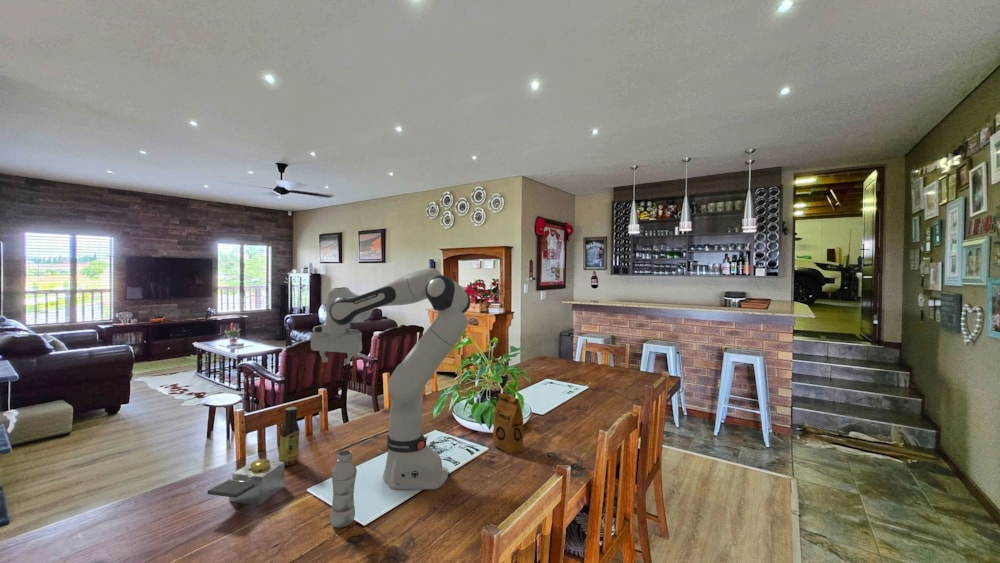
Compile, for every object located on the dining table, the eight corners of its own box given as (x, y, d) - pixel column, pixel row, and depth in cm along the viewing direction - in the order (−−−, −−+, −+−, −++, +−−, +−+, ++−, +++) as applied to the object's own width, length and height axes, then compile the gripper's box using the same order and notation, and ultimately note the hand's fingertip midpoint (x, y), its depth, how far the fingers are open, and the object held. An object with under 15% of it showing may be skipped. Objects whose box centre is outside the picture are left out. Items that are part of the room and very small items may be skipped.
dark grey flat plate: (257, 486, 121) (258, 481, 121) (236, 498, 113) (237, 493, 113) (229, 482, 122) (230, 478, 122) (206, 494, 114) (207, 490, 114)
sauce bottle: (290, 468, 144) (291, 412, 144) (274, 465, 146) (276, 410, 145) (302, 459, 151) (304, 406, 151) (287, 457, 152) (289, 405, 152)
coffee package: (508, 457, 159) (510, 401, 159) (489, 446, 169) (491, 393, 168) (527, 451, 165) (529, 397, 165) (507, 440, 175) (509, 390, 175)
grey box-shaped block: (283, 486, 132) (284, 462, 132) (259, 505, 121) (259, 478, 121) (256, 483, 134) (256, 458, 133) (229, 501, 123) (229, 475, 123)
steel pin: (272, 488, 130) (273, 460, 130) (260, 496, 125) (261, 467, 125) (258, 486, 131) (258, 458, 131) (245, 494, 126) (246, 465, 126)
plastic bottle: (333, 517, 117) (335, 448, 116) (357, 517, 117) (359, 448, 117) (326, 531, 110) (328, 458, 110) (351, 531, 111) (353, 458, 110)
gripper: (365, 328, 162) (364, 363, 163) (318, 325, 165) (317, 359, 165) (357, 330, 156) (356, 366, 156) (308, 327, 159) (307, 362, 159)
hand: (336, 363), depth 161 cm, fingers open, 8 cm apart
